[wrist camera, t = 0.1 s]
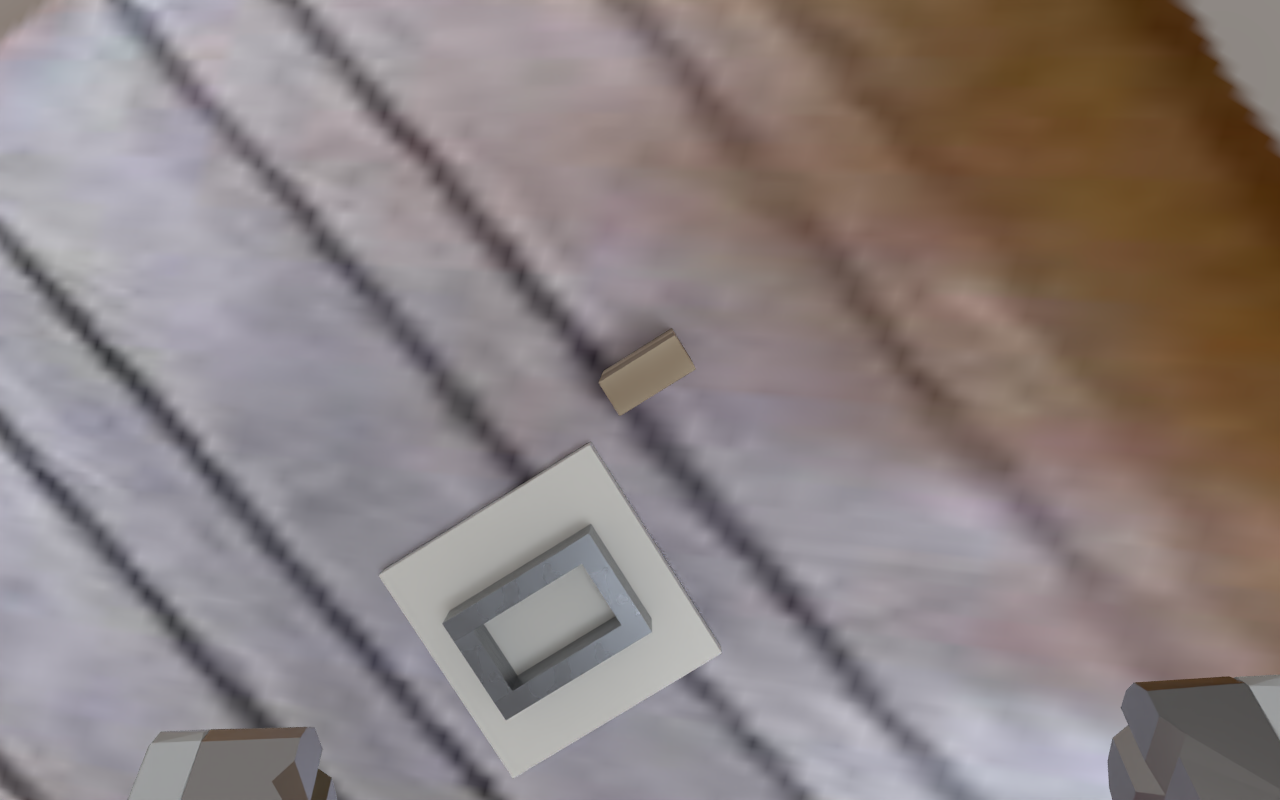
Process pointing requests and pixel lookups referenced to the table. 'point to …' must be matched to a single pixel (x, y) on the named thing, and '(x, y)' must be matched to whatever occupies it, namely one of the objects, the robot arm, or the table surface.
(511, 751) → the plate
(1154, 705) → the robot arm
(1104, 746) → the table surface
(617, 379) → the wooden block
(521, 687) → the frame
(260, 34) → the table surface
